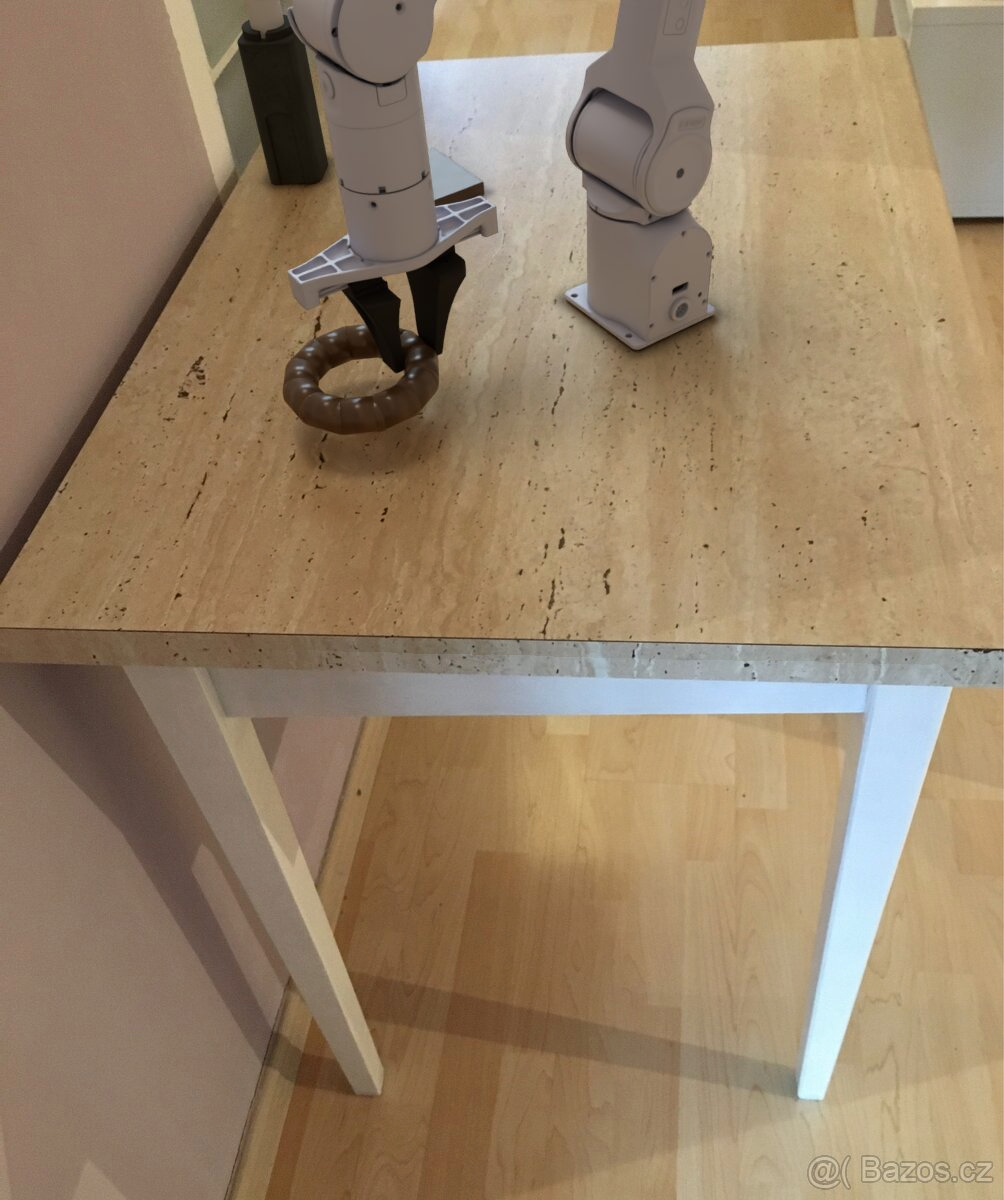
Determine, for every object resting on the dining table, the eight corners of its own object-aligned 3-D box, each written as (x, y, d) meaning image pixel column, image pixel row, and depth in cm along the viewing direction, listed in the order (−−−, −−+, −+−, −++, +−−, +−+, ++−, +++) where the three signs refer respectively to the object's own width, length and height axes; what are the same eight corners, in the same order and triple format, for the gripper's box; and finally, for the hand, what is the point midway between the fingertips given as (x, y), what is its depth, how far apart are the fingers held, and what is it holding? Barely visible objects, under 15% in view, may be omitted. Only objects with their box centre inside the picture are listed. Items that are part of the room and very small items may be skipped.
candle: (330, 158, 104) (272, -144, 85) (319, 184, 100) (256, -125, 82) (280, 159, 104) (211, -140, 85) (267, 185, 101) (193, -122, 82)
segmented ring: (469, 398, 73) (466, 370, 71) (331, 462, 69) (324, 434, 67) (393, 328, 79) (388, 300, 77) (262, 383, 75) (254, 355, 74)
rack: (484, 194, 97) (480, 138, 93) (400, 226, 94) (392, 170, 90) (434, 158, 102) (428, 104, 98) (353, 188, 99) (343, 134, 95)
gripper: (450, 114, 69) (469, 295, 79) (249, 185, 64) (296, 368, 75) (509, 152, 65) (521, 338, 75) (299, 231, 60) (342, 418, 70)
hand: (413, 356), depth 75 cm, fingers closed on segmented ring, 2 cm apart
